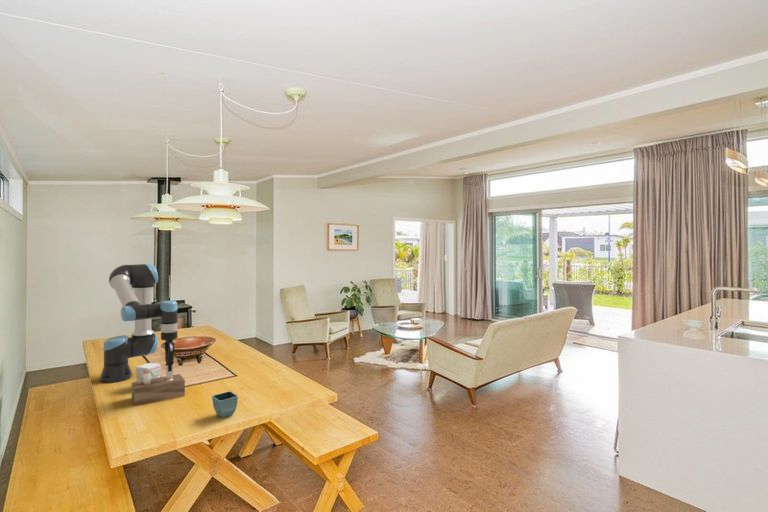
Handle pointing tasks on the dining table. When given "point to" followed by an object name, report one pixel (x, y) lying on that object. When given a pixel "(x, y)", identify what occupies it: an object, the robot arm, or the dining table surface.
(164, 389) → the walnut block
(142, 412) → the dining table surface
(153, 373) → the ink box
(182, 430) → the dining table surface
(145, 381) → the peg
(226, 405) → the flower pot
